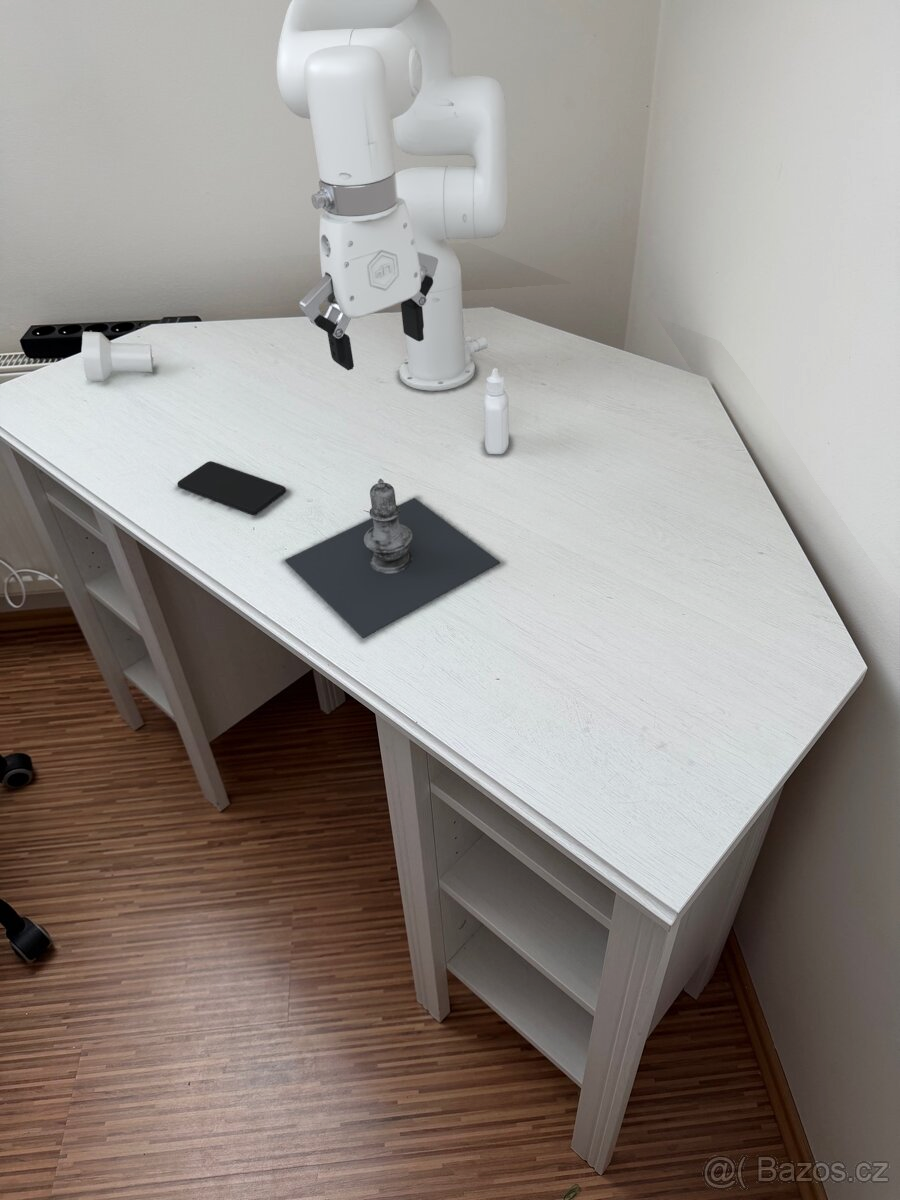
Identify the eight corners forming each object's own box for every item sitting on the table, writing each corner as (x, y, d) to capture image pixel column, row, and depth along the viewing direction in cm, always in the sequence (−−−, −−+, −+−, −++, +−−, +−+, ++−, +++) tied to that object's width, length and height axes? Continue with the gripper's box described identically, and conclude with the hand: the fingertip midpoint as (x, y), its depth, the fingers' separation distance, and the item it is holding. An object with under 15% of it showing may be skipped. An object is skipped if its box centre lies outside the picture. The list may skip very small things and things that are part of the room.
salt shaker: (408, 577, 100) (399, 495, 92) (361, 573, 101) (348, 491, 93) (419, 547, 105) (411, 466, 97) (374, 543, 106) (362, 463, 98)
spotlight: (87, 361, 147) (80, 321, 141) (154, 363, 150) (151, 324, 144) (84, 390, 142) (77, 349, 136) (154, 391, 145) (150, 352, 139)
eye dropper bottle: (519, 440, 122) (519, 364, 114) (498, 458, 119) (497, 381, 111) (494, 432, 124) (493, 357, 116) (473, 450, 121) (470, 374, 113)
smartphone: (209, 459, 122) (287, 486, 115) (210, 464, 122) (288, 491, 116) (174, 483, 117) (253, 512, 111) (176, 488, 118) (255, 517, 111)
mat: (414, 499, 113) (414, 497, 113) (499, 563, 102) (499, 561, 102) (285, 561, 104) (284, 559, 104) (362, 638, 93) (362, 636, 93)
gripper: (304, 226, 78) (333, 389, 90) (450, 180, 85) (459, 337, 97) (266, 207, 83) (298, 365, 94) (408, 165, 90) (421, 316, 101)
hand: (379, 351), depth 96 cm, fingers open, 9 cm apart
